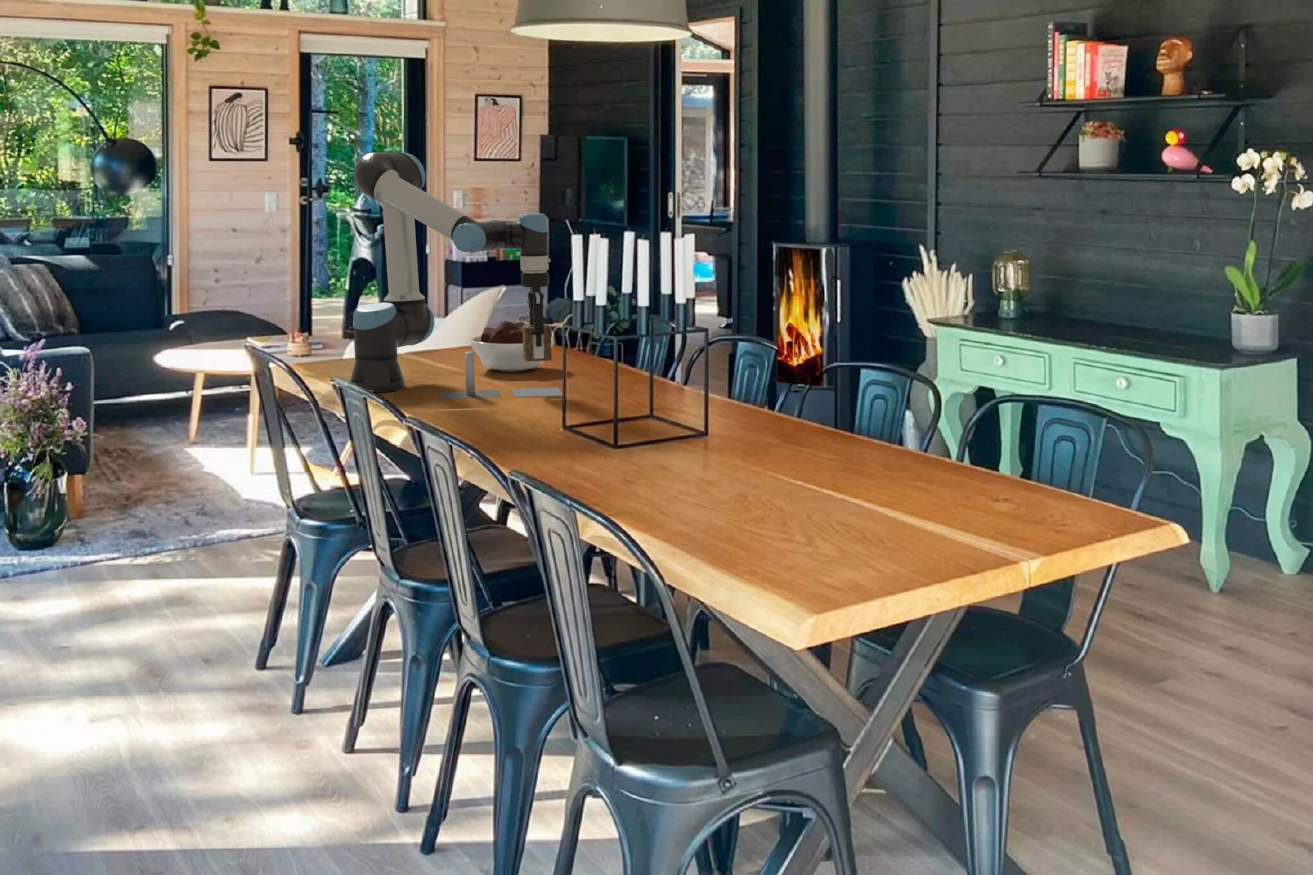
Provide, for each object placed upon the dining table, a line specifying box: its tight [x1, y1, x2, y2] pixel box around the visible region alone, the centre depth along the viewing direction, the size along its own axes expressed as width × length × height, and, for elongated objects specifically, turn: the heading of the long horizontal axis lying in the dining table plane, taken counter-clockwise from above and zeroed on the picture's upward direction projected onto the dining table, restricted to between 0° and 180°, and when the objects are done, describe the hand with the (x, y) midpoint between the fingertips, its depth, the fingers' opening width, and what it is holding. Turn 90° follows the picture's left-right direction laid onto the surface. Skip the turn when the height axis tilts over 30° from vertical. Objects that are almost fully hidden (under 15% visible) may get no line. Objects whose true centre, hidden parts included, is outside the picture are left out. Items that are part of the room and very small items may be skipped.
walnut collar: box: [522, 324, 553, 362], centre depth 383 cm, size 7×7×9 cm
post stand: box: [440, 351, 503, 400], centre depth 381 cm, size 16×12×12 cm
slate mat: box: [511, 387, 563, 399], centre depth 386 cm, size 13×13×1 cm
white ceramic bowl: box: [470, 320, 554, 373], centre depth 427 cm, size 25×25×15 cm
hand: (537, 356), depth 383 cm, fingers closed on walnut collar, 7 cm apart
